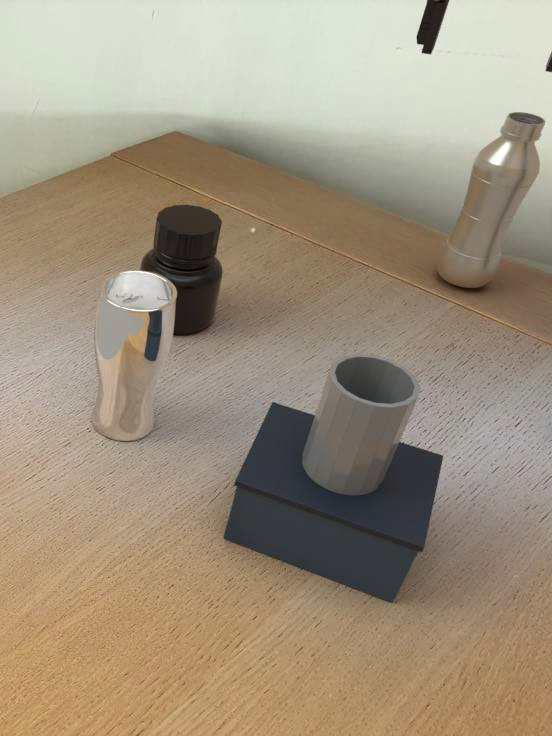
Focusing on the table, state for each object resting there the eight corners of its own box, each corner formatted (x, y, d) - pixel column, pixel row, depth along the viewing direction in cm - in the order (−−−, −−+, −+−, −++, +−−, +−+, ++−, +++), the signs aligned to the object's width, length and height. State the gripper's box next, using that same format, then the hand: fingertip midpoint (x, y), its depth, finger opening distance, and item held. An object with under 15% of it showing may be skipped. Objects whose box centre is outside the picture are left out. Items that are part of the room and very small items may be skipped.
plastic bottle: (474, 301, 97) (546, 136, 84) (420, 278, 101) (481, 116, 88) (499, 282, 101) (572, 120, 88) (446, 260, 104) (508, 102, 92)
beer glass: (74, 408, 82) (84, 278, 72) (135, 390, 84) (153, 262, 75) (108, 452, 77) (123, 319, 68) (172, 433, 79) (195, 301, 70)
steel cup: (389, 457, 67) (425, 369, 61) (375, 506, 63) (412, 417, 57) (311, 432, 69) (340, 344, 63) (293, 478, 65) (321, 389, 59)
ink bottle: (189, 286, 99) (204, 193, 92) (231, 325, 93) (252, 229, 86) (118, 303, 96) (128, 209, 89) (157, 344, 90) (171, 247, 83)
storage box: (415, 513, 72) (443, 455, 67) (394, 606, 64) (424, 547, 60) (256, 459, 77) (272, 401, 72) (220, 539, 69) (235, 480, 65)
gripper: (714, -207, 52) (594, 61, 62) (468, -216, 57) (396, 33, 67) (726, -198, 47) (594, 92, 57) (455, -209, 52) (379, 59, 62)
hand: (487, 60), depth 62 cm, fingers open, 8 cm apart
